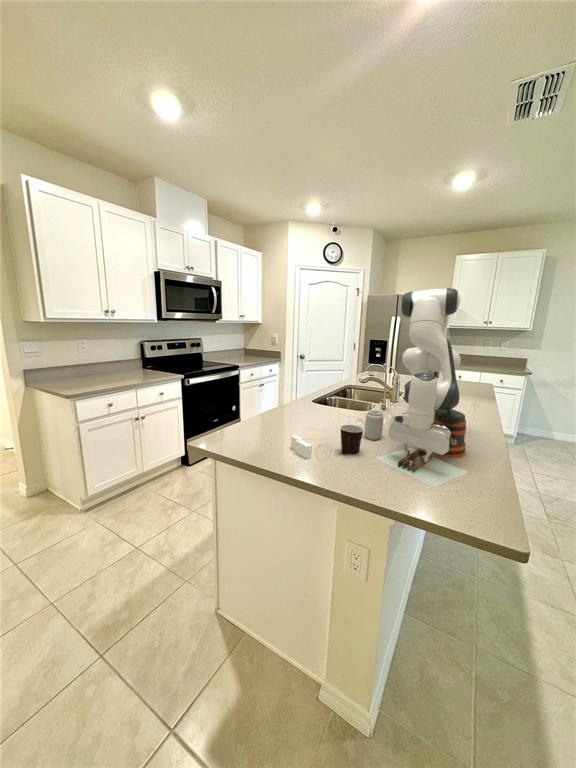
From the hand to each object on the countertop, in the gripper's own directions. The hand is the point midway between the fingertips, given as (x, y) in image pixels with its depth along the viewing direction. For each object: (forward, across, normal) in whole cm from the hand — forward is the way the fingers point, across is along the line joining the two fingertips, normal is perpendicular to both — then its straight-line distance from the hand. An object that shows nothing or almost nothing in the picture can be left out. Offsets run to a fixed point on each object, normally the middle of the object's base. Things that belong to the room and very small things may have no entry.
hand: (415, 458), depth 109 cm
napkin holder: (+4, +34, +22) cm, 41 cm away
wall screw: (+2, -1, +6) cm, 7 cm away
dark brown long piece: (+2, 0, -1) cm, 2 cm away
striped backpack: (+3, -3, -20) cm, 20 cm away
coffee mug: (+3, +22, +10) cm, 24 cm away
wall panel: (+3, -2, -1) cm, 4 cm away
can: (+3, +25, -13) cm, 29 cm away
